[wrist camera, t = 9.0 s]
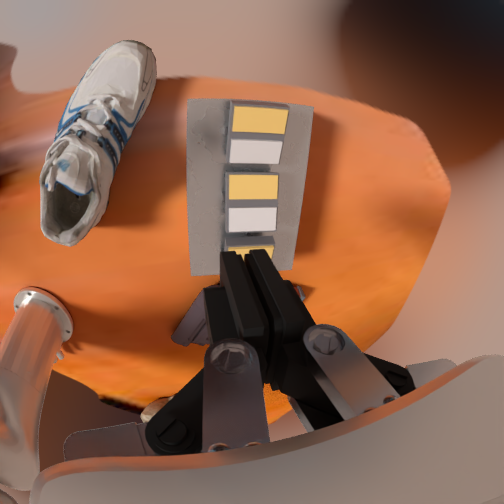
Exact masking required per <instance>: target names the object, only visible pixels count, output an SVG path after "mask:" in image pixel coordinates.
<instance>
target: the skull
mask: <svg viewBox="0 0 504 504" xmlns="http://www.w3.org/2000/svg"><path fill="white" fill-rule="evenodd" d="M174 396H175V395H172V396H171V397H168V398H162V399H158V400H155V401H153V402H152V403H150V404H149V405H148V406H147V407H146V408H145V410H144V411H143V412H142V413H141V419H142V420H143V422H144V423H146V422H149V420H150V419H151V418H152V417H153V416H154V415H155V414H156V413H157V412H158V411H159V410H160V409H161V408H162V407H163V406H164V405H166V404H167V403H168V402H169V401H170V400H171V399H172V398H173V397H174Z"/></svg>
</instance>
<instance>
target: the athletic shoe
mask: <svg viewBox="0 0 504 504" xmlns="http://www.w3.org/2000/svg"><path fill="white" fill-rule="evenodd" d="M156 75H157V72H156V59H155V56H154V54H153V52H152V50H151V48H149V47H148V46H146V45H145V44H143V43H141V42H138V41H134V40H123V41H120V42H118V43H116V44H114V45H112V46H111V47H109V48H108V49H107V50H105V51H104V52H103V53H101V54H100V55H99V56H98V57H97V58H96V59H95V61H94V62H93V63H92V65H91V66H90V67H89V69H88V70H87V72H86V73H85V75H84V76H83V78H82V79H81V81H80V82H79V84H78V86H77V88H76V89H75V91H74V93H73V94H72V96H71V98H70V100H69V102H68V103H67V106H66V108H65V111H64V113H63V115H62V118H61V120H60V122H59V125H58V130H57V133H56V136H55V140H54V143H53V144H52V145H51V147H50V148H49V150H48V151H47V154H46V158H45V160H46V162H45V164H44V166H43V168H42V171H41V174H40V180H39V183H40V191H41V230H42V232H43V234H44V236H45V237H47V238H48V239H50V240H52V241H54V242H56V243H58V244H62V245H66V246H70V247H71V246H74V245H76V244H77V243H78V242H79V241H80V240H82V239H83V238H84V237H85V236H86V235H87V233H88V232H89V231H90V229H91V228H93V227H94V226H96V225H97V224H98V223H99V221H100V220H101V216H102V215H103V214H104V213H105V210H106V208H107V206H108V203H109V201H108V198H109V191H110V185H111V183H112V180H113V178H114V175H115V172H116V168H117V166H118V164H119V161H120V155H121V153H122V151H123V149H124V147H125V145H126V144H127V142H128V140H129V139H130V137H131V134H132V131H133V129H134V128H135V126H136V124H137V123H138V122H139V121H140V119H141V118H142V116H143V114H144V113H145V110H146V108H147V107H148V105H149V103H150V100H151V97H152V94H153V91H154V87H155V84H156Z"/></svg>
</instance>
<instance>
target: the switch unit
mask: <svg viewBox="0 0 504 504" xmlns="http://www.w3.org/2000/svg"><path fill="white" fill-rule="evenodd" d="M231 100H242V99H188V102H187V211H188V234H189V252H190V267H191V276H201V275H219V274H220V252H223V251H224V249H225V238H226V237H251V236H273V238H274V241H275V248H274V253H273V257H272V262H273V264H274V265H275V267H276V269H277V271H281V270H292V265H293V259H294V253H295V247H296V240H297V234H298V228H299V221H300V215H301V208H302V201H303V194H304V186H305V179H306V171H307V164H308V155H309V147H310V138H311V130H312V120H313V110H314V107H312V106H305V105H298V104H290V103H281V102H271V101H258V100H242V101H258V102H271V103H281V104H286V105H288V106H289V107H290V111H289V116H288V122H287V127H286V132H285V138H284V143H283V148H282V154H281V159H280V164H241V163H227V161H226V147H227V135H228V123H229V112H230V101H231ZM225 172H277V173H279V192H278V213H277V231H275V232H245V233H226V231H225Z"/></svg>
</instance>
